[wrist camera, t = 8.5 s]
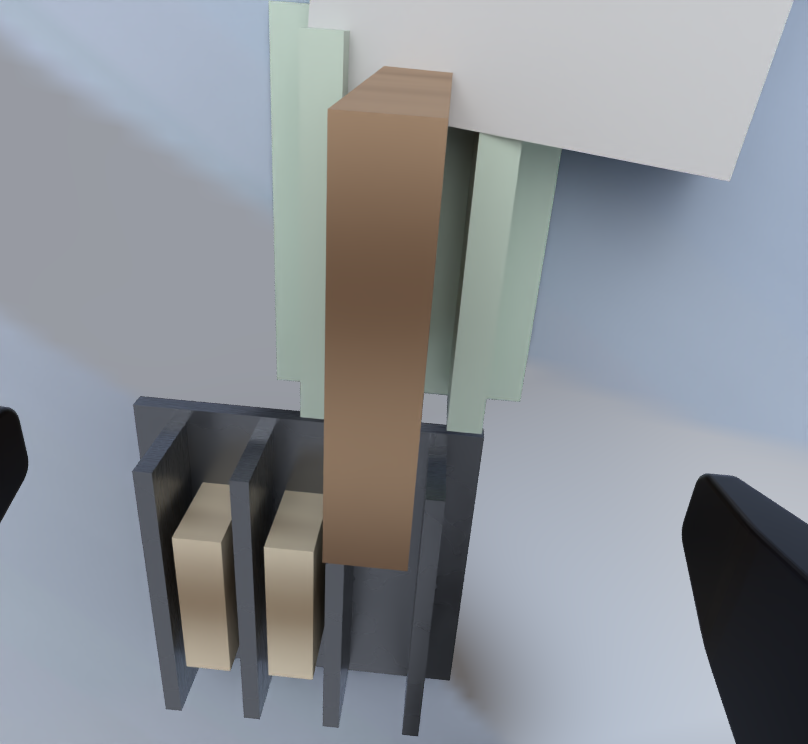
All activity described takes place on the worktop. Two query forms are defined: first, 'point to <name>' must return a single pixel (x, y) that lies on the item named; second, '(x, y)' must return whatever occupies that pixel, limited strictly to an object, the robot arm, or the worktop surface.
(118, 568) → the worktop surface
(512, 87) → the decorative molding
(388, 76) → the walnut sheet
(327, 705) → the offcut rack
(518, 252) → the sage stand
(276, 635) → the offcut strip middle
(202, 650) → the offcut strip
